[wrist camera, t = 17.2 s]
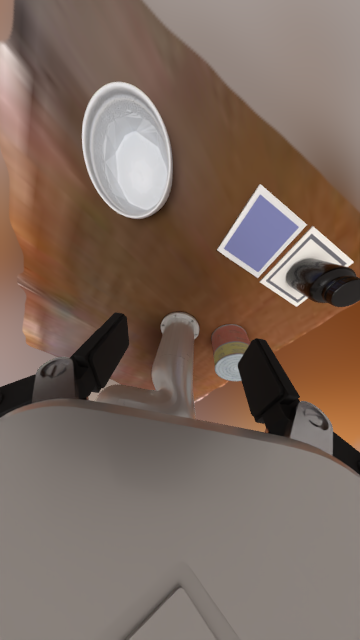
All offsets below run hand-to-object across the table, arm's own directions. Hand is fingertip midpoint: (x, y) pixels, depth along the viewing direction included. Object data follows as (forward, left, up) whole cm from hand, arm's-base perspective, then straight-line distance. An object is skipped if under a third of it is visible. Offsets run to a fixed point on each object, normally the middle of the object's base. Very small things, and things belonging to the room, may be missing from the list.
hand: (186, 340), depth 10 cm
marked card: (-8, -24, -28) cm, 38 cm away
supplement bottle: (-8, -24, -28) cm, 37 cm away
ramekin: (+17, +6, -28) cm, 33 cm away
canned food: (-26, -7, -28) cm, 39 cm away
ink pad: (+2, -14, -28) cm, 31 cm away
